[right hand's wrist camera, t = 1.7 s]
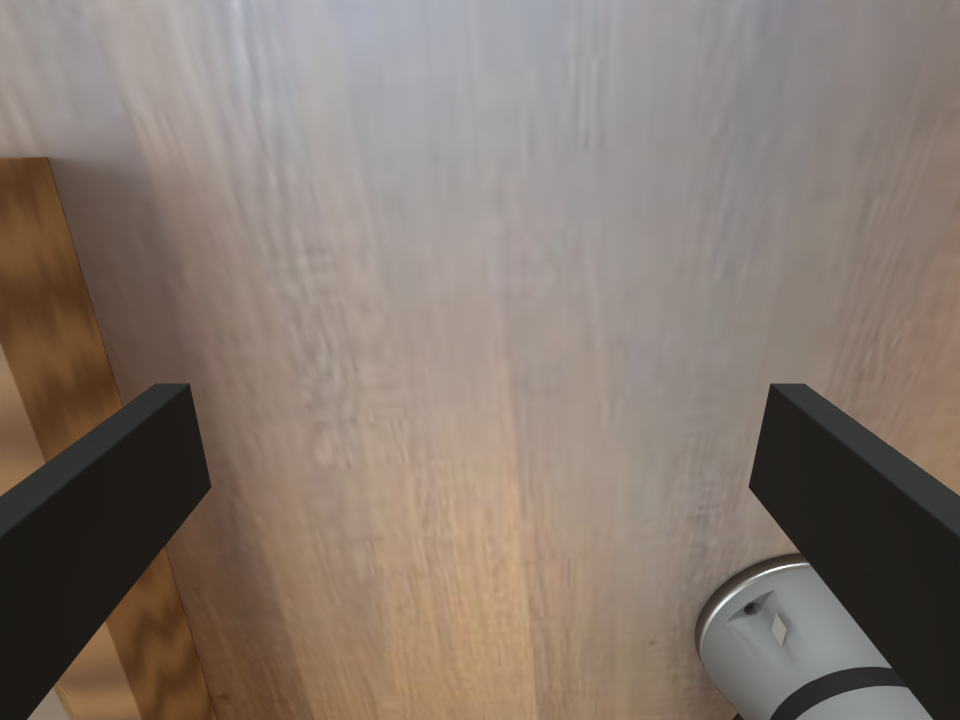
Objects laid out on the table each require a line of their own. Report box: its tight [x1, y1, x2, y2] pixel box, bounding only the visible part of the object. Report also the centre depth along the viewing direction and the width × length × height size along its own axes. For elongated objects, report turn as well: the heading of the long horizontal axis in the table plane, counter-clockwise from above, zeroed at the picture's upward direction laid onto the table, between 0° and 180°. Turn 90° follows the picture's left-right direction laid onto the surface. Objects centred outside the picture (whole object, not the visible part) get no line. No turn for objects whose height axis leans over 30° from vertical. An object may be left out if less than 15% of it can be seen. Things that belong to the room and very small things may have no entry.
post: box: [0, 157, 217, 720], centre depth 39 cm, size 53×5×7 cm, turn 2°
